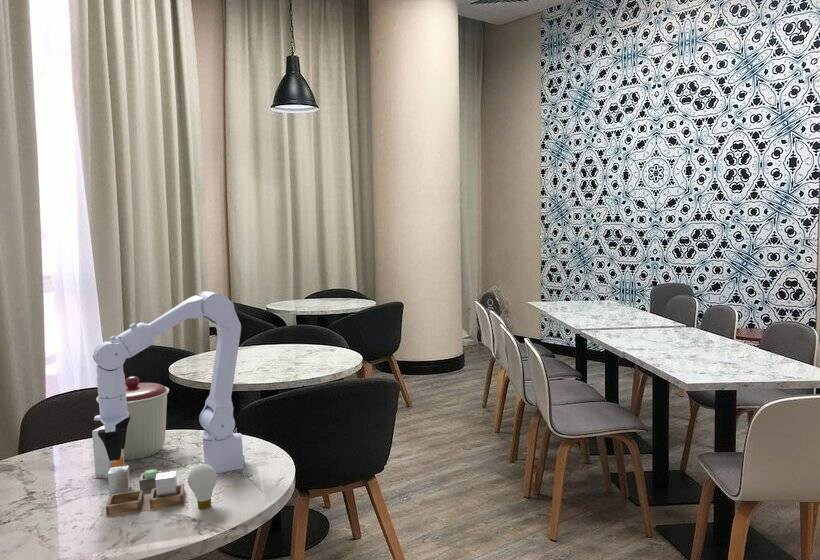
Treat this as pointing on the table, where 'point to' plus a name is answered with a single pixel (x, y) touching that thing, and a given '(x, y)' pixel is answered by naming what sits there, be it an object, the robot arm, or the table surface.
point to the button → (150, 473)
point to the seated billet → (166, 484)
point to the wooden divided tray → (142, 501)
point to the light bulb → (202, 484)
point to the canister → (144, 418)
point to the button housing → (147, 482)
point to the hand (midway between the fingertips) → (117, 454)
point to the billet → (119, 479)
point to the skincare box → (103, 456)
